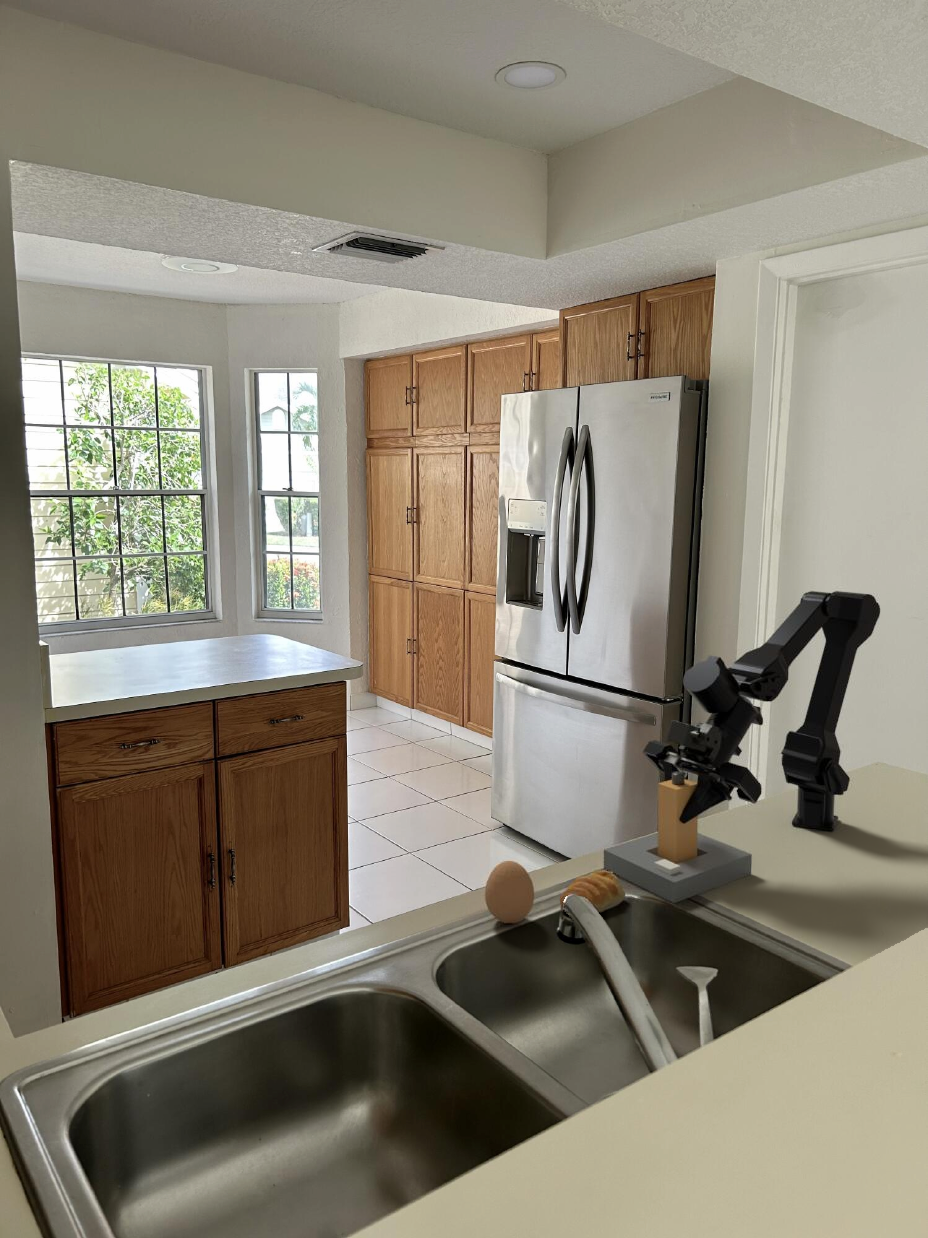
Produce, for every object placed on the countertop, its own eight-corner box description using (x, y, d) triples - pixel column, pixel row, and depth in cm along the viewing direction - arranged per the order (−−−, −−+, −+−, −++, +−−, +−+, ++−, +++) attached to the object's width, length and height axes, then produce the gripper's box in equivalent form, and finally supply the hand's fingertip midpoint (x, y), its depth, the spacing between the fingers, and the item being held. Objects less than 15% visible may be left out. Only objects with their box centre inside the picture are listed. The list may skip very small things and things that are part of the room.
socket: (679, 843, 144) (679, 820, 143) (751, 873, 132) (751, 849, 132) (603, 868, 135) (603, 844, 135) (674, 903, 124) (674, 876, 123)
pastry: (585, 925, 118) (585, 898, 118) (546, 909, 123) (546, 883, 123) (629, 902, 125) (628, 875, 124) (590, 887, 130) (589, 862, 129)
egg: (524, 907, 123) (524, 849, 122) (541, 929, 117) (541, 868, 116) (479, 914, 122) (478, 855, 120) (494, 937, 115) (493, 875, 114)
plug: (678, 851, 136) (679, 767, 134) (697, 859, 133) (698, 773, 131) (657, 858, 134) (658, 773, 132) (675, 866, 131) (676, 779, 129)
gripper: (651, 688, 140) (598, 771, 136) (750, 712, 125) (693, 806, 120) (686, 729, 145) (636, 810, 141) (785, 757, 130) (732, 849, 126)
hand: (671, 818), depth 132 cm, fingers closed on plug, 4 cm apart
